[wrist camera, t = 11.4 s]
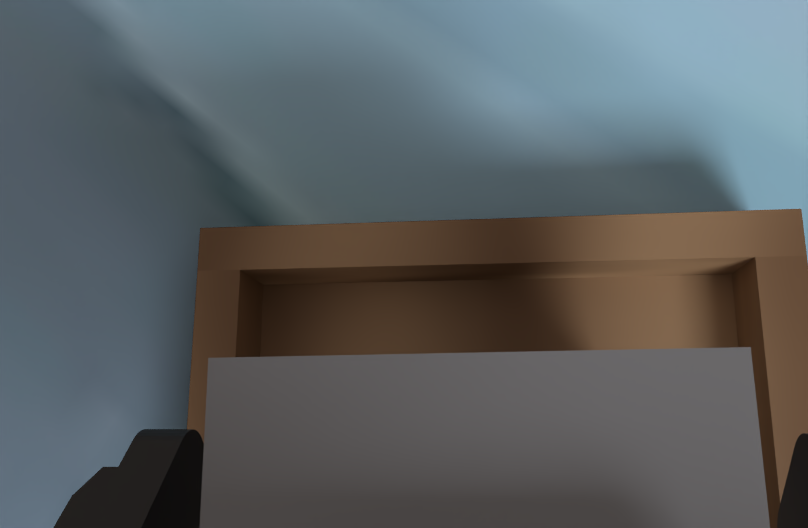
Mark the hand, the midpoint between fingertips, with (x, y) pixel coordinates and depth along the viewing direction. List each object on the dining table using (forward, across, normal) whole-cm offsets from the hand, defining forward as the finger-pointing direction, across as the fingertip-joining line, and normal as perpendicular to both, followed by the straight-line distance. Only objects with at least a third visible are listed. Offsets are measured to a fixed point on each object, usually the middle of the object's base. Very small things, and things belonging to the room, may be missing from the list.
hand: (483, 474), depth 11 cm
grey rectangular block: (+4, 0, +6) cm, 7 cm away
